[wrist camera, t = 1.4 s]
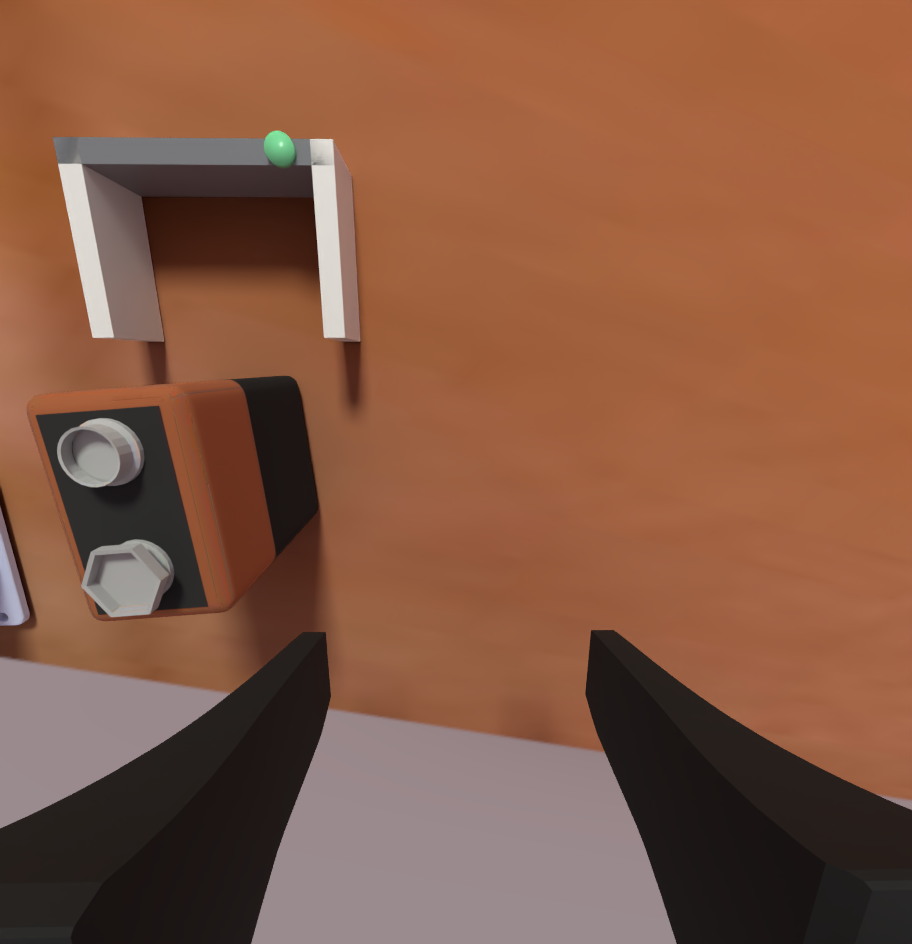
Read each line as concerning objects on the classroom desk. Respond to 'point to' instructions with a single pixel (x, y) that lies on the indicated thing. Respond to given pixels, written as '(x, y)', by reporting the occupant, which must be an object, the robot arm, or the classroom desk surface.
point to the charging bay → (196, 175)
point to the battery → (175, 489)
